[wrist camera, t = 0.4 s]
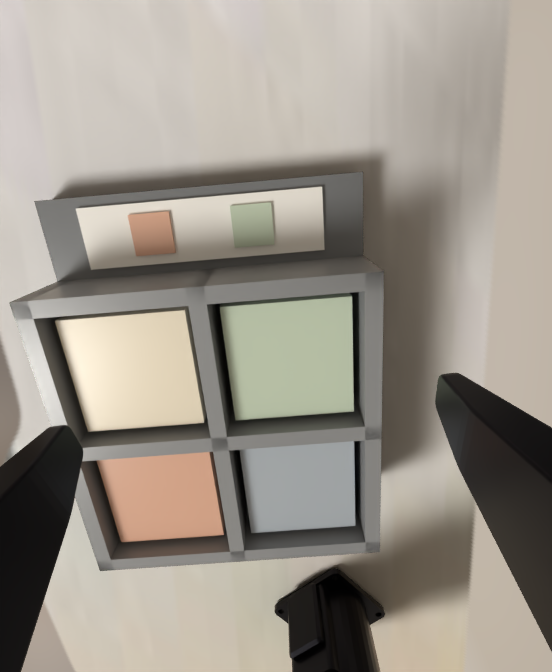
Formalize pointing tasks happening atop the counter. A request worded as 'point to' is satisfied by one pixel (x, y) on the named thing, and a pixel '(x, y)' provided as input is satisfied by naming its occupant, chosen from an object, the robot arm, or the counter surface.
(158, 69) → the counter surface
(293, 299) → the sage key
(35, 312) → the grey compartment tray
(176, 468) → the terracotta key
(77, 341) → the sand key
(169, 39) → the counter surface
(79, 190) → the counter surface
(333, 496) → the slate key
